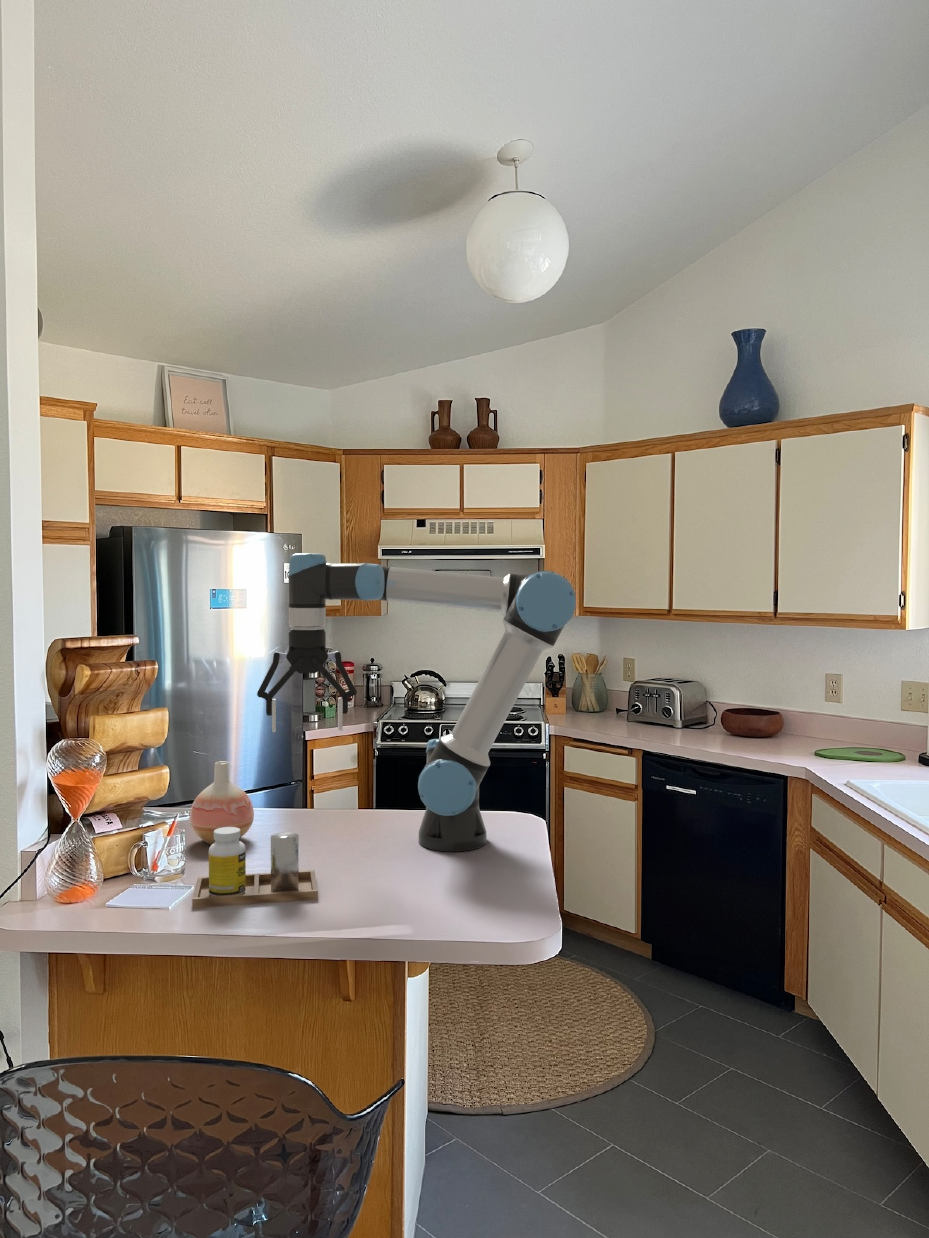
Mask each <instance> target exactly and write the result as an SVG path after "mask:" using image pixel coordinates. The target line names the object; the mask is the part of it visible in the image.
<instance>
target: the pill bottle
mask: <svg viewBox="0 0 929 1238" xmlns="http://www.w3.org/2000/svg"><path fill="white" fill-rule="evenodd" d="M240 836H241V834H240V829H239V828H236V827H222V828H218V829H216V830H214V840H215V843H214V844H212V845H211V844H210V847H209V849H208V877H209V894H210V895H211V896H224V895H240V894H243V893H244V892H245V889H246V874H247V873H246V865H247V864H246V854H247V852H246V850H247V849H246V848H247V847H246V845H245V844H244V843H243V842H242V841H241V840H240V839H241V838H240ZM239 838H240V839H239Z"/></svg>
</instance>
